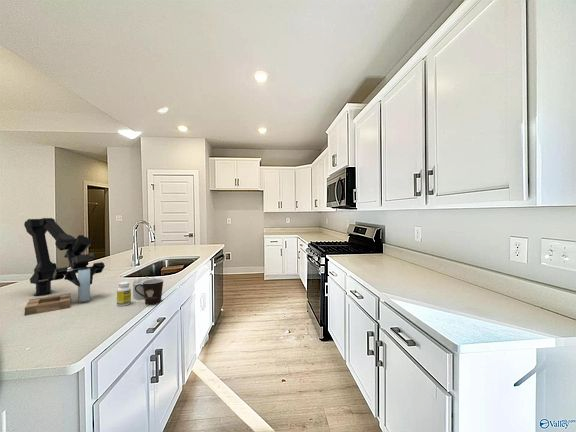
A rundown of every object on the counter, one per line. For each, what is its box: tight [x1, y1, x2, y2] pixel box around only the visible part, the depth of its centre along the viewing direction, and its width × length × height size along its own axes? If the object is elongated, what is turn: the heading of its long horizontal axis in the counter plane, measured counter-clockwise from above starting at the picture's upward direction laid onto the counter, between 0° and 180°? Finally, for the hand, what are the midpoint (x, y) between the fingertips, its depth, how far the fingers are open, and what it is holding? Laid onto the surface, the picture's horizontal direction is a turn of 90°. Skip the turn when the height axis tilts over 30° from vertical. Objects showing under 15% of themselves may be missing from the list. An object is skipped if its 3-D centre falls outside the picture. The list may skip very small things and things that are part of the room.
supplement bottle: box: [116, 281, 132, 307], centre depth 117 cm, size 5×5×10 cm
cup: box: [132, 276, 157, 301], centre depth 131 cm, size 10×13×9 cm
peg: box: [77, 269, 91, 302], centre depth 120 cm, size 4×4×14 cm
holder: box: [24, 293, 71, 316], centre depth 114 cm, size 14×14×3 cm
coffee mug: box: [135, 278, 164, 306], centre depth 120 cm, size 12×9×10 cm
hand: (85, 284), depth 119 cm, fingers closed on peg, 4 cm apart
